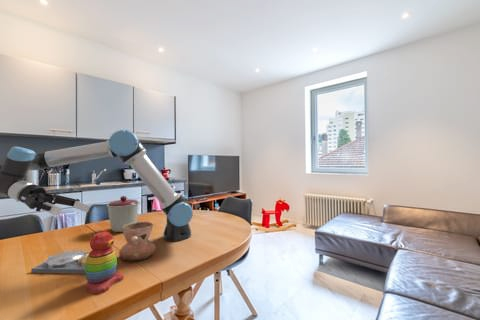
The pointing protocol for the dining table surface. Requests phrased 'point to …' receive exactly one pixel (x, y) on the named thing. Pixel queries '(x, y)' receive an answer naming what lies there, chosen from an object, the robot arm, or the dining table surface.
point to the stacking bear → (101, 264)
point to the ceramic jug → (137, 241)
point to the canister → (122, 213)
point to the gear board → (63, 267)
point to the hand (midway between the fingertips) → (75, 210)
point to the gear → (64, 258)
